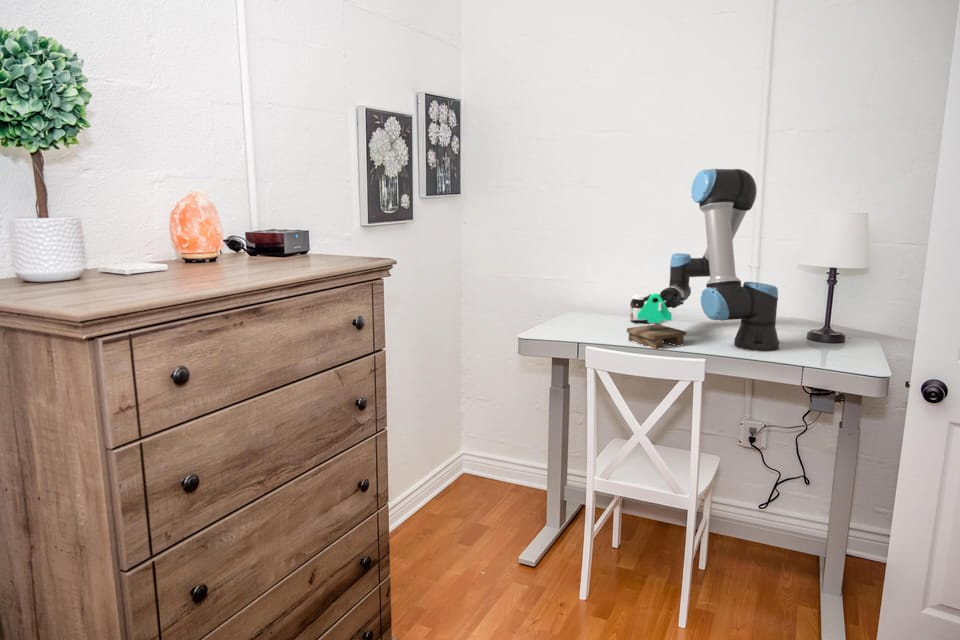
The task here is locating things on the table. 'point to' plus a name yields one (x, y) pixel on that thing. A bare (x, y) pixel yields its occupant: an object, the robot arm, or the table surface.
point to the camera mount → (654, 310)
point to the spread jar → (637, 308)
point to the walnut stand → (656, 335)
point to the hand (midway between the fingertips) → (652, 306)
